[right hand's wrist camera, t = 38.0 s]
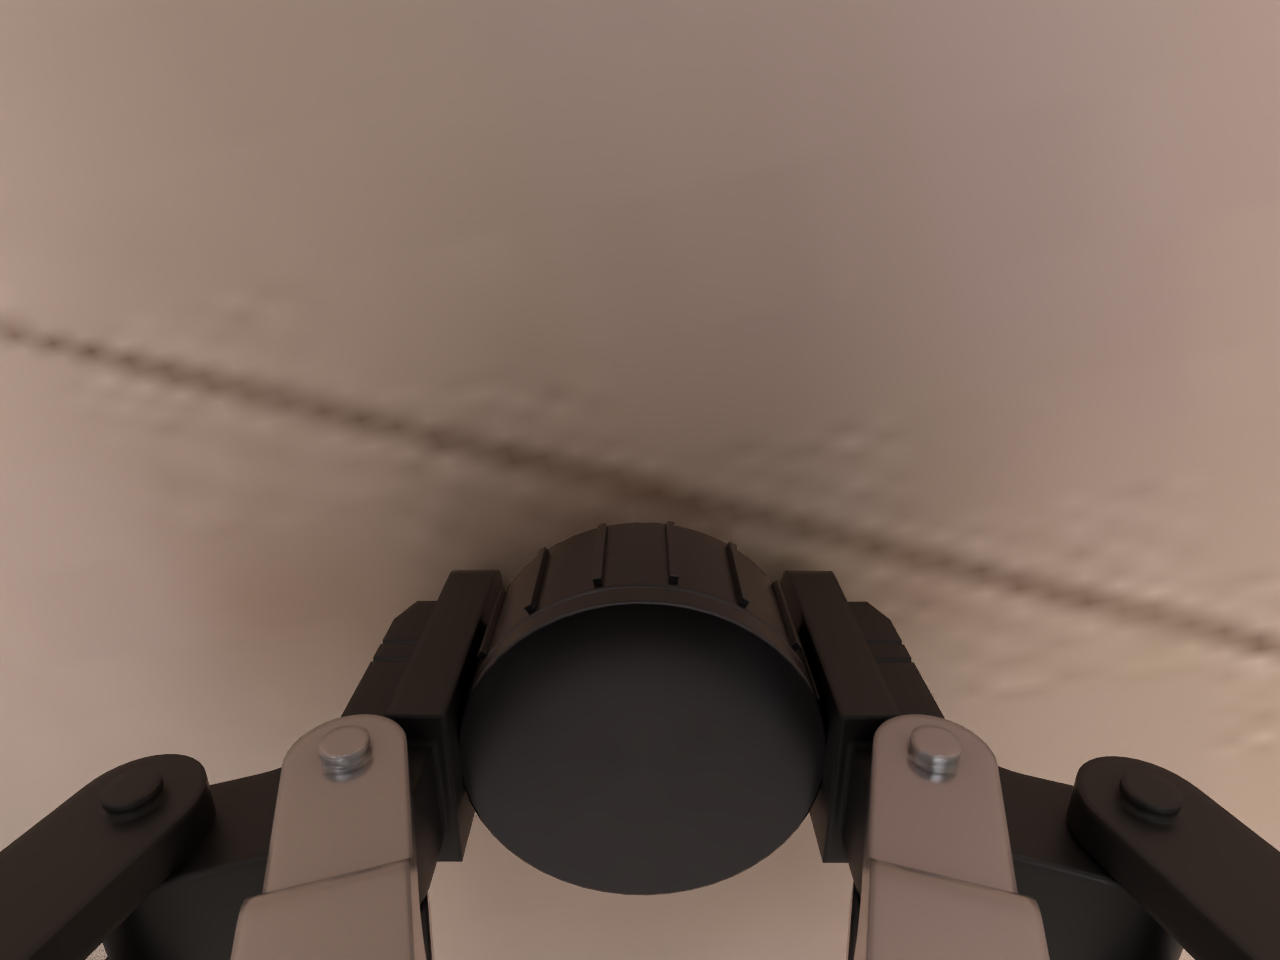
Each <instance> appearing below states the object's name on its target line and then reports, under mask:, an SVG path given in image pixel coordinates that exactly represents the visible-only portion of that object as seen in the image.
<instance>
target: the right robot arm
mask: <svg viewBox="0 0 1280 960" xmlns="http://www.w3.org/2000/svg"><path fill="white" fill-rule="evenodd" d="M781 587H782V590H783V593H784V596H785V599H786V602H787V605H788V608H789V611H790V614H791V617H792V620H793V623H794V626H795V629H796V632H798V635H799V638H800V641H801V644H802V647H803V650H804V653H805V656H806V659H807V662H808V665H809V668H810V671H811V674H812V677H813V680H814V683H815V686H816V689H817V692H818V695H819V698H820V701H819V703H820V706H821V709H822V712H823V715H824V719H825V725H826V730H827V740H826V750H825V760H824V768H823V776H822V784H821V787H820V790H819V793H818V796H817V798H816V800H815V802H814V804H813V806H812V808H811V810H810V811H809V812H810V816H811V819H812V823H813V827H814V831H815V835H816V838H817V842H818V846H819V850H820V854H821V857H822V861H823V863H849V867H850V870H851V873H852V877H853V880H854V881H853V888H852V895H851V902H850V911H849V925H848V938H847V951H846V960H1179V958H1180V955H1181V953H1182V950H1183V948H1184V949H1185V950H1186V951H1187V952H1188V953H1189V954H1190V955H1191V956H1192V957H1193V958H1194V959H1195V960H1280V852H1279V851H1278V850H1277V849H1275V848H1274V847H1273V846H1271V845H1270V844H1269V843H1268V842H1266V841H1265V840H1264V839H1262V838H1261V837H1260V836H1258V835H1257V834H1256V833H1255V832H1253V831H1252V830H1251V829H1249V828H1248V827H1247V826H1246V825H1244V824H1243V823H1242V822H1240V821H1239V820H1238V819H1237V818H1235V817H1234V816H1233V815H1231V814H1230V813H1229V812H1228V811H1226V810H1225V809H1224V808H1222V807H1221V806H1220V805H1219V804H1217V803H1216V802H1215V801H1213V800H1212V799H1211V798H1210V797H1208V796H1207V795H1206V794H1204V793H1203V792H1202V791H1201V790H1199V789H1198V788H1197V787H1195V786H1194V785H1192V784H1191V783H1189V782H1188V781H1187V780H1185V779H1183V778H1181V777H1180V776H1178V775H1176V774H1174V773H1172V772H1170V771H1168V770H1166V769H1164V768H1162V767H1159V766H1156V765H1154V764H1151V763H1148V762H1144V761H1141V760H1137V759H1132V758H1127V757H1117V756H1106V757H1100V758H1095V759H1092V760H1089V761H1088V762H1086V763H1085V764H1083V765H1082V766H1081V768H1080V769H1079V771H1078V773H1077V776H1076V780H1075V783H1074V786H1072V785H1067V784H1063V783H1058V782H1054V781H1050V780H1045V779H1041V778H1036V777H1032V776H1028V775H1024V774H1020V773H1016V772H1013V771H1010V770H1007V769H1004V768H1002V767H999V766H998V764H997V761H996V758H995V756H994V754H993V752H992V751H991V749H990V748H989V747H988V746H987V744H986V743H985V742H984V741H983V740H982V739H980V738H979V737H978V736H977V735H975V734H974V733H973V732H971V731H970V730H968V729H966V728H964V727H963V726H961V725H958V724H956V723H954V722H952V721H949V720H946V719H945V718H944V716H943V714H942V713H941V711H940V709H939V707H938V705H937V704H936V702H935V700H934V698H933V696H932V695H931V693H930V691H929V689H928V687H927V686H926V684H925V682H924V680H923V678H922V677H921V675H920V673H919V671H918V669H917V668H916V666H915V664H914V663H912V662H911V657H910V655H909V653H908V651H907V649H906V648H905V646H904V645H902V640H901V639H900V637H899V635H898V633H897V631H896V630H895V628H894V626H893V624H892V622H891V621H890V619H888V618H887V617H886V616H884V615H883V614H882V613H881V612H879V611H878V610H877V609H875V608H874V607H873V606H872V605H870V604H869V603H868V602H847V600H846V598H845V596H844V594H843V592H842V590H841V588H840V586H839V584H838V581H837V579H836V577H835V575H834V573H833V572H832V571H785V572H784V574H783V577H782V583H781ZM501 589H502V590H503V584H502V577H501V574H500V571H498V570H453V571H452V572H451V573H450V575H449V577H448V579H447V581H446V583H445V585H444V588H443V590H442V592H441V594H440V596H439V598H438V600H437V601H417V602H416V603H414V604H413V605H412V606H411V607H409V608H408V609H407V610H405V611H404V612H403V613H402V614H400V615H399V616H398V617H396V618H395V619H394V621H393V622H392V624H391V626H390V628H389V630H388V632H387V633H386V635H385V637H384V639H383V644H380V646H379V648H378V650H377V652H376V654H375V655H374V660H373V662H371V663H370V665H369V666H368V668H367V670H366V672H365V674H364V676H363V677H362V679H361V681H360V683H359V685H358V687H357V688H356V690H355V692H354V694H353V696H352V698H351V699H350V701H349V703H348V705H347V707H346V709H345V710H344V712H343V714H342V716H341V718H337V719H334V720H331V721H328V722H326V723H324V724H322V725H319V726H317V727H316V728H314V729H312V730H310V731H309V732H307V733H306V734H305V735H303V736H302V737H301V738H300V739H298V740H297V741H296V742H295V743H294V744H293V746H292V747H291V748H290V749H289V751H288V752H287V754H286V756H285V758H284V761H283V764H282V767H281V768H278V769H276V770H273V771H269V772H265V773H262V774H258V775H253V776H249V777H244V778H240V779H236V780H231V781H227V782H222V783H218V784H214V785H209V782H208V779H207V775H206V772H205V769H204V767H203V766H202V765H201V763H200V762H198V761H197V760H195V759H194V758H191V757H188V756H185V755H178V754H163V755H154V756H149V757H145V758H141V759H137V760H134V761H131V762H128V763H126V764H123V765H121V766H118V767H116V768H114V769H112V770H110V771H108V772H106V773H104V774H103V775H101V776H99V777H98V778H96V779H94V780H93V781H92V782H90V783H89V784H87V785H86V786H85V787H83V788H82V789H81V790H79V791H78V792H77V793H76V794H74V795H73V796H72V797H70V798H69V799H68V800H67V801H65V802H64V803H63V804H61V805H60V806H59V807H58V808H56V809H55V810H54V811H52V812H51V813H50V814H49V815H47V816H46V817H45V818H43V819H42V820H41V821H40V822H38V823H37V824H36V825H34V826H33V827H32V828H31V829H29V830H28V831H27V832H25V833H24V834H23V835H22V836H20V837H19V838H18V839H16V840H15V841H14V842H13V843H11V844H10V845H9V846H7V847H6V848H5V849H3V850H2V851H1V852H0V960H85V959H86V958H87V957H88V956H89V955H90V954H91V953H92V952H93V951H94V950H95V949H96V948H97V947H98V946H99V945H100V944H101V943H102V942H103V945H104V948H105V950H106V953H107V956H108V957H107V958H106V959H105V960H434V951H433V938H432V925H431V911H430V902H429V895H428V890H429V887H430V884H431V880H432V877H433V873H434V870H435V867H436V863H437V861H462V860H463V856H464V852H465V848H466V844H467V840H468V837H469V833H470V829H471V825H472V821H473V817H474V813H475V810H474V808H473V806H472V805H471V803H470V801H469V798H468V796H467V793H466V791H465V788H464V785H463V777H462V770H461V761H460V751H459V740H458V726H459V722H460V718H461V715H462V711H463V707H464V704H465V701H466V698H467V695H468V692H469V689H470V686H471V683H472V680H473V677H474V674H475V671H476V668H477V665H478V662H479V657H477V655H478V652H479V649H480V646H481V643H482V640H483V637H484V634H485V631H486V628H487V625H488V622H489V619H490V616H491V613H492V610H493V607H494V604H495V601H496V598H497V595H498V593H499V592H500V590H501Z"/></svg>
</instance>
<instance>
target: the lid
mask: <svg viewBox="0 0 1280 960" xmlns="http://www.w3.org/2000/svg"><path fill="white" fill-rule="evenodd" d="M477 657H479V662H478V665H477V668H476V671H475V674H474V677H473V680H472V683H471V686H470V689H469V692H468V695H467V698H466V701H465V704H464V707H463V711H462V715H461V718H460V722H459V726H458V740H459V751H460V761H461V770H462V777H463V785H464V788H465V791H466V793H467V796H468V798H469V801H470V803H471V805H472V806H473V808H474V810H475V811H476V813H477V815H478V816H479V818H480V820H481V821H482V822H483V823H484V825H485V826H486V827H487V828H488V830H489V831H490V832H491V833H492V835H493V836H494V837H495V838H497V839H498V840H499V841H500V842H501V843H502V844H503V845H504V846H505V847H506V848H507V849H508V850H510V851H511V852H512V853H514V854H515V855H516V856H518V857H519V858H520V859H522V860H523V861H524V862H526V863H528V864H530V865H531V866H533V867H535V868H536V869H538V870H540V871H542V872H544V873H546V874H548V875H550V876H553V877H555V878H557V879H559V880H562V881H565V882H568V883H571V884H574V885H577V886H580V887H583V888H588V889H592V890H597V891H602V892H608V893H616V894H625V895H657V894H670V893H676V892H682V891H688V890H693V889H697V888H701V887H704V886H708V885H712V884H715V883H717V882H720V881H722V880H725V879H728V878H730V877H733V876H735V875H737V874H739V873H741V872H743V871H745V870H747V869H748V868H750V867H752V866H754V865H755V864H757V863H758V862H760V861H761V860H763V859H764V858H766V857H767V856H769V855H770V854H771V853H773V852H774V851H775V850H776V849H777V848H778V847H780V846H781V845H782V844H783V843H784V842H785V841H786V840H787V839H788V838H789V837H790V836H791V835H792V834H793V833H794V832H795V831H796V829H797V828H798V827H799V826H800V824H801V823H802V822H803V820H804V819H805V817H806V816H807V814H808V813H809V811H810V810H811V808H812V806H813V804H814V802H815V800H816V798H817V796H818V793H819V790H820V787H821V784H822V776H823V768H824V760H825V750H826V740H827V730H826V725H825V719H824V715H823V712H822V709H821V706H820V703H819V701H820V698H819V695H818V692H817V689H816V686H815V683H814V680H813V677H812V674H811V671H810V668H809V665H808V662H807V659H806V656H805V653H804V650H803V647H802V644H801V641H800V638H799V635H798V632H796V629H795V626H794V623H793V620H792V617H791V614H790V611H789V608H788V605H787V602H786V599H785V596H784V593H783V590H782V587H781V585H780V584H779V582H778V581H776V582H774V583H772V582H771V580H770V579H769V578H768V576H767V575H766V574H765V573H764V572H763V571H762V570H761V569H760V568H759V567H758V566H757V565H756V564H755V563H754V562H752V561H751V560H750V559H748V558H747V557H746V556H744V555H743V554H742V553H740V552H739V551H738V550H737V547H736V545H735V544H734V543H732V542H729V543H728V544H726V543H724V542H722V541H720V540H718V539H715V538H713V537H711V536H708V535H706V534H703V533H701V532H698V531H694V530H691V529H687V528H683V527H680V526H674V522H669V521H667V522H666V524H660V523H627V524H616V525H611V526H607V524H606V523H604V524H599V527H598V528H597V529H593V530H590V531H587V532H584V533H581V534H578V535H575V536H573V537H571V538H569V539H567V540H565V541H563V542H561V543H559V544H557V545H555V546H553V547H552V548H550V549H549V550H547V549H546V548H545V547H544V548H543V549H541V550H540V551H539V553H538V557H537V558H536V559H535V560H533V561H532V562H531V563H530V564H529V565H528V566H527V567H525V568H524V569H523V570H522V571H521V573H520V574H519V575H518V576H517V577H516V578H515V580H514V581H513V582H512V583H511V584H510V586H509V587H508V589H507V591H504V590H502V589H501V590H500V592H499V593H498V595H497V598H496V601H495V604H494V607H493V610H492V613H491V616H490V619H489V622H488V625H487V628H486V631H485V634H484V637H483V640H482V643H481V646H480V649H479V652H478V655H477Z"/></svg>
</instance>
